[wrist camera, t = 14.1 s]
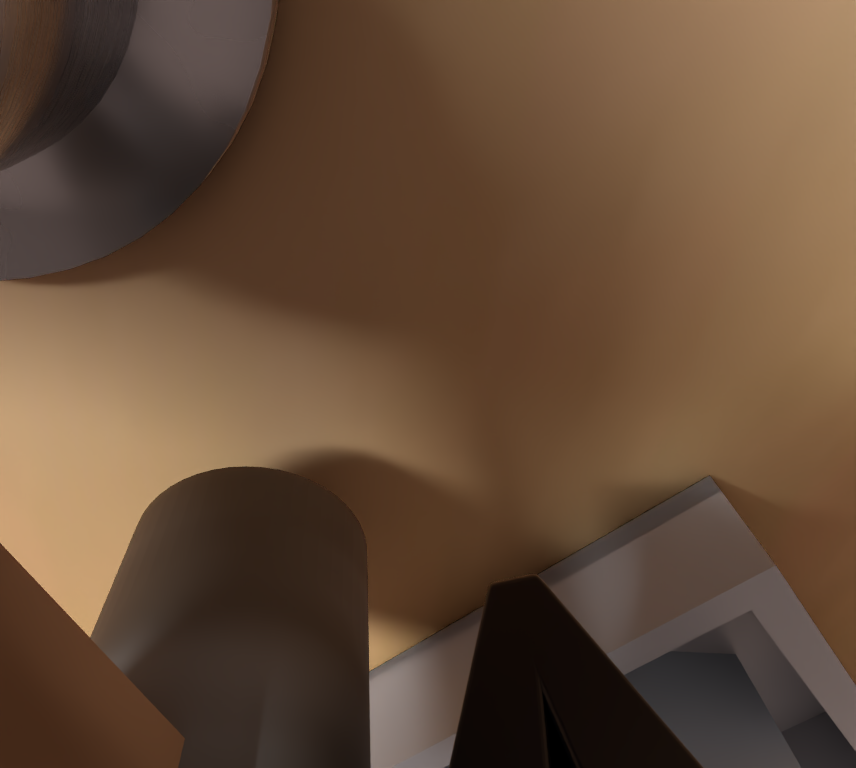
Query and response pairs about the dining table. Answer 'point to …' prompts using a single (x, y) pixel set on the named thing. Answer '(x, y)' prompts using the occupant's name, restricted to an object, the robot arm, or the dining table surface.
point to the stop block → (713, 710)
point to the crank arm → (201, 639)
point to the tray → (647, 633)
